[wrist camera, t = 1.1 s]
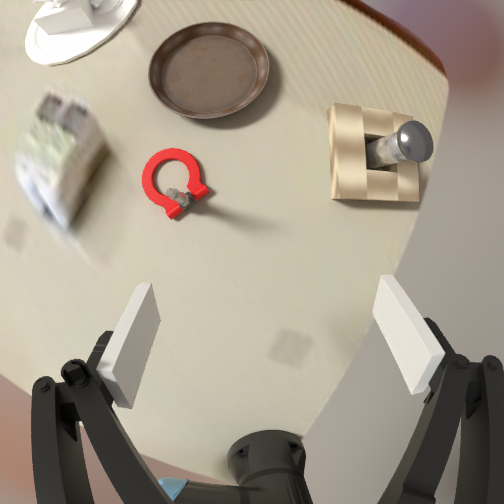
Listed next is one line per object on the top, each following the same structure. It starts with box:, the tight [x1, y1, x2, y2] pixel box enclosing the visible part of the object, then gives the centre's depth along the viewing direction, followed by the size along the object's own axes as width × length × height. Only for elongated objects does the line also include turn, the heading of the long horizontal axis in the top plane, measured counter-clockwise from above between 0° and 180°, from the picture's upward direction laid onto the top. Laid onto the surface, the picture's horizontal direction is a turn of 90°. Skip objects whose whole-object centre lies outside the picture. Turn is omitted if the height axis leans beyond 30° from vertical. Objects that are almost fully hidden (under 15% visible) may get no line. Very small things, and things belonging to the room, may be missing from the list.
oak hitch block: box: [327, 103, 419, 202], centre depth 41 cm, size 14×14×4 cm
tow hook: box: [142, 148, 209, 220], centre depth 34 cm, size 8×13×9 cm
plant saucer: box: [148, 22, 270, 119], centre depth 37 cm, size 18×18×3 cm
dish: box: [25, 0, 138, 66], centre depth 28 cm, size 25×25×11 cm
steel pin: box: [365, 120, 433, 169], centre depth 36 cm, size 5×5×13 cm
